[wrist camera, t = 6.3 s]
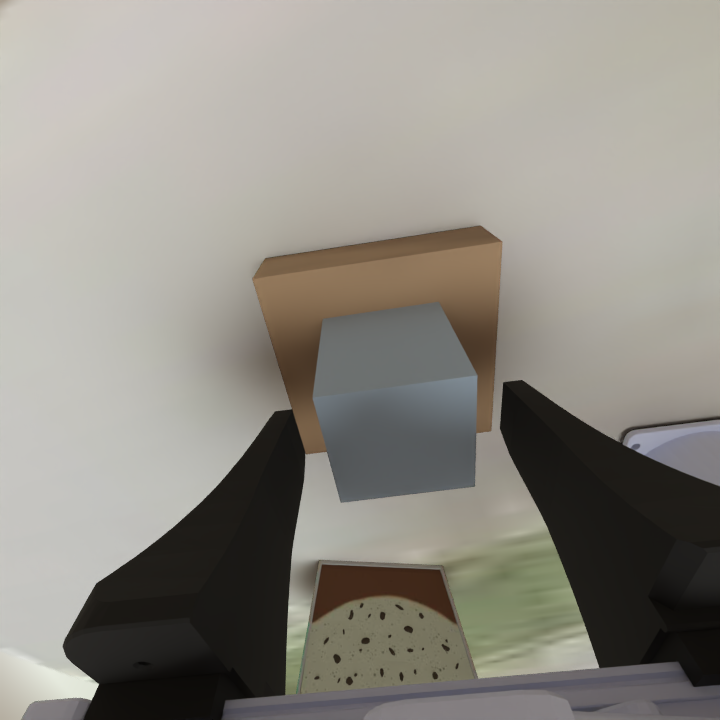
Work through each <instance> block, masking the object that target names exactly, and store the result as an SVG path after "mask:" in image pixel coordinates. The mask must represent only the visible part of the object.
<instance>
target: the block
mask: <svg viewBox="0 0 720 720" xmlns="http://www.w3.org/2000/svg"><path fill="white" fill-rule="evenodd" d="M313 402H314V405H315V409H316V413H317V416H318V420H319V424H320V427H321V431H322V435H323V438H324V442H325V446H326V450H327V453H328V457H329V461H330V464H331V468H332V472H333V475H334V479H335V483H336V487H337V490H338V494H339V498H340V501H341V503H342V502H350V501H359V500H367V499H375V498H383V497H392V496H400V495H408V494H417V493H425V492H433V491H442V490H450V489H458V488H466V487H475V462H476V417H477V374H476V372H475V370H474V368H473V366H472V364H471V362H470V360H469V358H468V356H467V355H466V353H465V351H464V349H463V347H462V345H461V343H460V341H459V339H458V337H457V335H456V334H455V332H454V330H453V328H452V326H451V324H450V322H449V320H448V318H447V316H446V315H445V313H444V311H443V309H442V307H441V305H440V303H439V302H434V303H427V304H420V305H413V306H407V307H400V308H393V309H386V310H380V311H373V312H366V313H359V314H352V315H346V316H339V317H332V318H325V319H323V321H322V328H321V336H320V344H319V352H318V359H317V367H316V375H315V382H314V390H313Z"/></svg>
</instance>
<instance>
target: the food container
mask: <svg viewBox="0 0 720 720" xmlns="http://www.w3.org/2000/svg"><path fill="white" fill-rule="evenodd" d="M469 679H478V676H477V673H476V670H475V667H474V664H473V661H472V657H471V654H470V651H469V648H468V645H467V642H466V638H465V635H464V632H463V629H462V626H461V623H460V619H459V616H458V613H457V610H456V607H455V604H454V601H453V597H452V594H451V591H450V588H449V585H448V582H447V578H446V575H445V572H444V569H443V566H439V565H418V564H396V563H374V562H352V561H330V560H319V564H318V570H317V576H316V581H315V587H314V593H313V599H312V604H311V610H310V616H309V622H308V628H307V633H306V639H305V645H304V651H303V656H302V662H301V668H300V674H299V679H298V685H297V691H296V694H306V693H317V692H329V691H341V690H352V689H364V688H375V687H387V686H399V685H410V684H422V683H434V682H445V681H457V680H469Z"/></svg>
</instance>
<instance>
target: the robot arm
mask: <svg viewBox="0 0 720 720" xmlns="http://www.w3.org/2000/svg"><path fill="white" fill-rule="evenodd" d="M500 430H501V433H502V435H503V438H504V441H505V444H506V446H507V449H508V451H509V454H510V456H511V458H512V460H513V462H514V464H515V466H516V468H517V470H518V471H519V473H520V475H521V477H522V479H523V481H524V483H525V485H526V487H527V488H528V490H529V492H530V494H531V496H532V498H533V500H534V501H535V503H536V505H537V507H538V509H539V511H540V513H541V515H542V517H543V519H544V521H545V523H546V525H547V527H548V530H549V532H550V535H551V537H552V540H553V542H554V544H555V547H556V549H557V552H558V554H559V557H560V559H561V562H562V564H563V567H564V570H565V572H566V575H567V577H568V580H569V582H570V585H571V588H572V590H573V593H574V596H575V599H576V601H577V604H578V607H579V610H580V612H581V615H582V618H583V621H584V623H585V626H586V629H587V632H588V635H589V638H590V641H591V644H592V647H593V650H594V653H595V656H596V659H597V662H598V665H599V668H597V669H585V670H573V671H562V672H550V673H538V674H527V675H515V676H503V677H492V678H480V679H469V680H457V681H445V682H434V683H422V684H410V685H399V686H387V687H375V688H364V689H352V690H341V691H329V692H317V693H306V694H294V695H285V681H286V643H287V619H288V600H289V583H290V570H291V557H292V548H293V540H294V535H295V529H296V523H297V518H298V512H299V506H300V501H301V495H302V489H303V483H304V472H305V449H304V446H303V443H302V439H301V436H300V433H299V430H298V426H297V423H296V420H295V416H294V413H293V410H292V409H291V410H283V411H276V412H274V414H273V415H272V416H271V418H270V419H269V420H268V422H267V423H266V425H265V426H264V428H263V429H262V430H261V432H260V433H259V435H258V436H257V437H256V439H255V440H254V441H253V443H252V444H251V445H250V447H249V448H248V449H247V451H246V452H245V453H244V455H243V456H242V457H241V459H240V460H239V461H238V462H237V463H236V465H235V466H234V467H233V468H232V469H231V471H230V472H229V473H228V474H227V475H226V477H225V478H224V479H223V480H222V481H221V482H220V483H219V485H218V486H217V487H216V488H215V489H214V490H213V491H212V492H211V493H210V494H209V495H208V496H207V497H206V498H205V499H204V500H203V501H202V502H201V503H200V504H199V505H198V506H197V507H196V508H194V509H193V510H192V511H191V512H190V513H189V514H188V515H187V516H185V517H184V518H183V519H182V520H181V521H180V522H179V523H178V524H177V525H175V526H174V527H173V528H172V529H171V530H169V531H168V532H167V533H166V534H165V535H163V536H162V537H161V538H160V539H158V540H157V541H156V542H154V543H153V544H152V545H151V546H149V547H148V548H147V549H145V550H144V551H143V552H141V553H140V554H139V555H137V556H136V557H134V558H133V559H132V560H130V561H129V562H127V563H126V564H124V565H123V566H121V567H120V568H119V569H117V570H116V571H114V572H113V573H111V574H110V575H108V576H107V577H105V578H104V579H102V580H101V581H99V582H98V583H96V585H95V587H94V588H93V590H92V592H91V594H90V595H89V597H88V599H87V601H86V602H85V604H84V606H83V608H82V610H81V611H80V613H79V615H78V617H77V619H76V620H75V622H74V624H73V626H72V628H71V629H70V631H69V633H68V635H67V637H66V638H65V641H64V644H63V649H64V652H65V655H66V657H67V658H68V659H69V660H70V661H71V662H72V663H73V664H74V665H75V666H77V667H78V668H79V669H81V670H82V671H83V672H84V673H86V674H87V675H88V676H90V677H91V678H92V679H93V680H95V681H96V682H97V683H99V686H98V688H97V690H96V693H95V695H94V697H93V699H92V701H91V700H88V699H83V698H68V699H57V700H45V701H35V702H33V703H32V704H30V705H29V706H28V708H27V710H26V712H25V713H24V715H23V717H22V719H21V720H720V420H711V421H703V422H695V423H687V424H679V425H670V426H662V427H654V428H646V429H638V430H632V431H630V432H629V433H627V434H626V436H625V438H624V442H623V444H621V443H619V442H617V441H615V440H613V439H612V438H610V437H608V436H606V435H604V434H603V433H601V432H599V431H598V430H596V429H594V428H593V427H591V426H589V425H588V424H586V423H584V422H583V421H581V420H580V419H578V418H576V417H575V416H573V415H572V414H570V413H569V412H567V411H566V410H564V409H563V408H561V407H560V406H558V405H557V404H555V403H554V402H553V401H551V400H550V399H548V398H547V397H545V396H544V395H543V394H541V393H540V392H538V391H537V390H536V389H534V388H533V387H531V386H530V385H528V384H527V383H526V382H524V381H523V380H518V381H510V382H503V394H502V407H501V421H500Z"/></svg>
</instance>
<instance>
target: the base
mask: <svg viewBox="0 0 720 720" xmlns="http://www.w3.org/2000/svg"><path fill="white" fill-rule="evenodd" d="M501 255H502V241H501V240H499V239H498V238H497V237H495V236H494V235H493V234H491V233H490V232H488V231H487V230H486V229H484V228H483V227H482V226H476V227H470V228H463V229H457V230H450V231H444V232H437V233H430V234H424V235H417V236H411V237H404V238H397V239H391V240H384V241H378V242H371V243H364V244H358V245H351V246H345V247H338V248H331V249H325V250H318V251H312V252H305V253H298V254H292V255H285V256H279V257H272V258H265V260H264V261H263V263H262V264H261V266H260V268H259V269H258V271H257V272H256V274H255V276H254V277H253V283H254V286H255V289H256V292H257V296H258V299H259V302H260V306H261V309H262V312H263V315H264V319H265V322H266V325H267V328H268V332H269V335H270V338H271V342H272V345H273V348H274V351H275V355H276V358H277V361H278V364H279V368H280V371H281V374H282V377H283V381H284V384H285V387H286V391H287V394H288V397H289V400H290V404H291V407H292V410H293V413H294V416H295V420H296V423H297V426H298V430H299V433H300V436H301V439H302V443H303V446H304V449H305V453H306V454H312V453H320V452H327V450H326V446H325V442H324V438H323V435H322V431H321V427H320V424H319V420H318V416H317V413H316V409H315V405H314V402H313V390H314V382H315V375H316V367H317V359H318V352H319V344H320V336H321V328H322V321H323V319H325V318H332V317H339V316H346V315H352V314H359V313H366V312H373V311H380V310H386V309H393V308H400V307H407V306H413V305H420V304H427V303H434V302H439V303H440V305H441V307H442V309H443V311H444V313H445V315H446V316H447V318H448V320H449V322H450V324H451V326H452V328H453V330H454V332H455V334H456V335H457V337H458V339H459V341H460V343H461V345H462V347H463V349H464V351H465V353H466V355H467V356H468V358H469V360H470V362H471V364H472V366H473V368H474V370H475V372H476V374H477V417H476V433H481V432H489V431H491V427H492V410H493V392H494V375H495V358H496V341H497V324H498V307H499V289H500V272H501Z"/></svg>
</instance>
